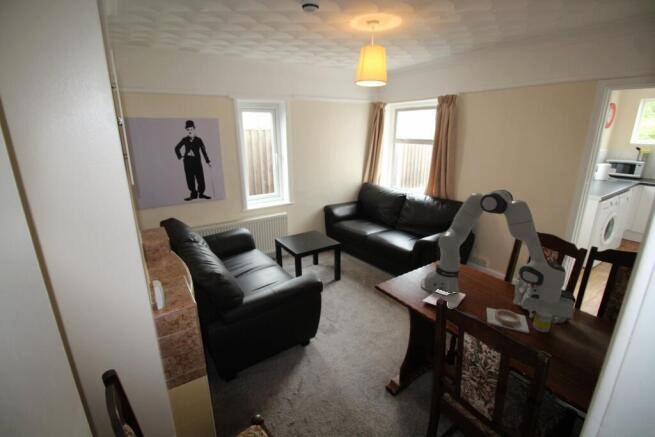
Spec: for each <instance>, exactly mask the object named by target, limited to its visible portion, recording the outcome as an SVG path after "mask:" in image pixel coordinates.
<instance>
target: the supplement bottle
mask: <svg viewBox="0 0 655 437" xmlns="http://www.w3.org/2000/svg"><path fill="white" fill-rule="evenodd" d="M550 310H551V309H549V308H544V307H543V312H538V311H535V314H534V318H533V323H532V326H533V328H534V329H535V330H536V331H539V332H541V333H548V332H549V331H550V328H551V324H552V316H553V315H552V314H550V313H549V311H550Z"/></svg>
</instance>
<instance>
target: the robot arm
mask: <svg viewBox="0 0 655 437" xmlns="http://www.w3.org/2000/svg"><path fill="white" fill-rule="evenodd" d="M484 212H486V213H489V214H494V215H495V214H497V215H503V216H504V217H505V220H506V224H507V228H508V231H509V233H510V236H512V238H514V239H515V240H519V241H521V242H523V243H524V244H525V246H526V248H527V251H528V254H529V256H530V261H529V262H528V263H526V264H524V265H523V266H521V267H519V270H518V275H519V277H520V278H521V279H522V280H523V281H524V282H526V283H529V284H531V285H534V286H538V287H530V288H527V293H525V294H524V296H523V298H522V301H521V306H520V307H521V308H522V309H525V310H528V313H529V318H531V319H534V318H535V314H534V313H533V312H536V311H538V312H543V307H544V308H549V309H551V310H550V311H549V313H550V314H552V315H557V317H555V318H553V319H552V320H551V323H553V324H557V323H558V322H557V320H559V319H560V318H561V317H566V319H569V318H571V317H572V315H573V309H574V307H575V304H576V303H574V301H572V300H571V299H566V298H562V297H561V293H562V290H563V289H562V288H563V286H564V284H565V283H566V282H565V280H566V275H567V274H566V272H567V271H566V269H565V268H564V266H562V265H561V264H559V263H557V262H554V261H549V260H548V258H547V257H546V254H545V251H544V248H543V245H542V241H541V239H540V236H539V234H538V232H537V229H536V226H535V221H534V218H533V214H532V212H531V209H530V207H529V206H528V204H527V202H526V201H524V200H521V199H516V200H514V197H513V195H512V193H511V192H509V190H505V189H499V190H498V189H497V190H493V191H491V192H488V193H486V194H484V195H483V194H482V193H478V192H473V193H471V194H470V195H469V196H468V197H467V199H465V200H464V202H463V203H462V205H461V206H460V208H459V210H458V211H457V213H456V214H455V216H454V217H453V220H452V222H451V225H450V227H449V228H448V229H447V230H446V231H444V232H443V233H442V234H441V236H440V237H439V239H438V242H437V244H438V247H439V249H440V250H439V251H440V259H439V263H436V264H435V270H433V271H430V272H429V273H427V274H426V276H425V277H424V278H423V279H421V282H420V287H421V288H422V289H423V290H426V291H430V292H433V293H435V292H434V291H436V290H437V289H439V290H442V291H445V292H448V293H453V292H458V293H459V291H460V289H459V278H460V265H461V264H460V262H461V256H460V246H461V245H462V244H463V243H464V242H465V241H466V239H467V238H468V236H469V235H470V232H471V231H472V229H473V228H474V226H475V224H476V223H477V222H478V220H479V219H480V217H481V216H482V214H483V213H484Z"/></svg>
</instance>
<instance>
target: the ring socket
mask: <svg viewBox="0 0 655 437" xmlns="http://www.w3.org/2000/svg"><path fill="white" fill-rule="evenodd" d="M486 320H487V321H486V322H487V323H489V324H488V325H491V324H492V326H496V327H501V328H505V329H509V330H512V331H517V332H520V333H521V332H522V333H526V334H530V330H529V326H528V322H527V319H526V316H525V315H523V314H518V313H516V312H513V311H511V310H509V309H501V308H499V309H495V308H491V307H486Z"/></svg>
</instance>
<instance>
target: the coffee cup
mask: <svg viewBox="0 0 655 437" xmlns="http://www.w3.org/2000/svg"><path fill="white" fill-rule="evenodd" d="M561 297H562V298H566V299H571V300H572V301H574V303H575V304H576V302H577V301H576V300H577V299H576V297H575V295H574V294H573V293H572V292H570V291H568V290H565V289H562V293H561ZM555 317H557V315H553V316H552V319H553V318H555ZM566 320H567V318H566V317H561V318H560V319H559V320H557V323H561V324H563V323H564V322H565V321H566Z"/></svg>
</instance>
